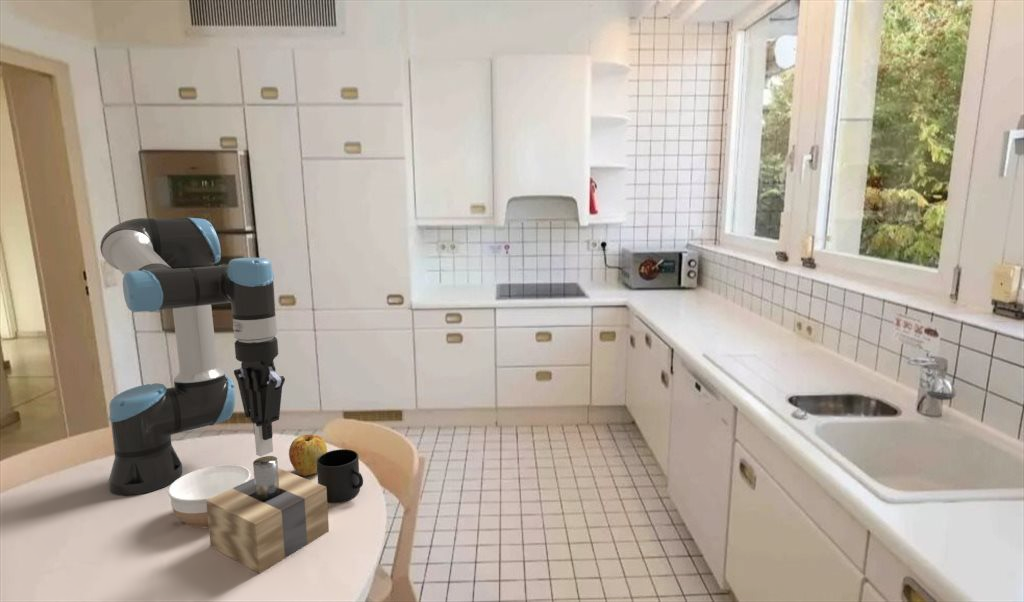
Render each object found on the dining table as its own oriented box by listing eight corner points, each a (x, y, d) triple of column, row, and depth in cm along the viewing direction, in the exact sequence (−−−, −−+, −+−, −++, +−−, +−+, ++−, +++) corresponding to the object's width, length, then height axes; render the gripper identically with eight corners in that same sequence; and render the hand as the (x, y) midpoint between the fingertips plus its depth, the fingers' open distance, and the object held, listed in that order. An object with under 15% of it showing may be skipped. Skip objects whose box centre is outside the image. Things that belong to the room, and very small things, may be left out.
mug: (349, 510, 122) (347, 472, 120) (309, 497, 127) (307, 461, 125) (376, 490, 130) (375, 455, 129) (338, 480, 135) (336, 446, 134)
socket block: (210, 546, 108) (206, 500, 107) (280, 509, 122) (277, 467, 120) (259, 573, 100) (255, 524, 99) (328, 530, 114) (326, 486, 112)
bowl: (269, 504, 124) (266, 472, 122) (204, 543, 109) (200, 507, 108) (221, 489, 130) (218, 458, 129) (154, 524, 116) (150, 489, 115)
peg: (251, 504, 109) (248, 462, 107) (271, 494, 113) (268, 454, 111) (265, 510, 107) (262, 468, 105) (284, 500, 110) (281, 459, 109)
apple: (314, 461, 145) (312, 425, 144) (335, 470, 140) (333, 434, 138) (283, 474, 138) (280, 437, 136) (304, 484, 133) (301, 446, 131)
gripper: (217, 337, 104) (227, 452, 108) (258, 346, 98) (268, 468, 101) (253, 330, 111) (261, 439, 114) (294, 338, 104) (301, 453, 108)
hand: (264, 453), depth 108 cm, fingers closed
